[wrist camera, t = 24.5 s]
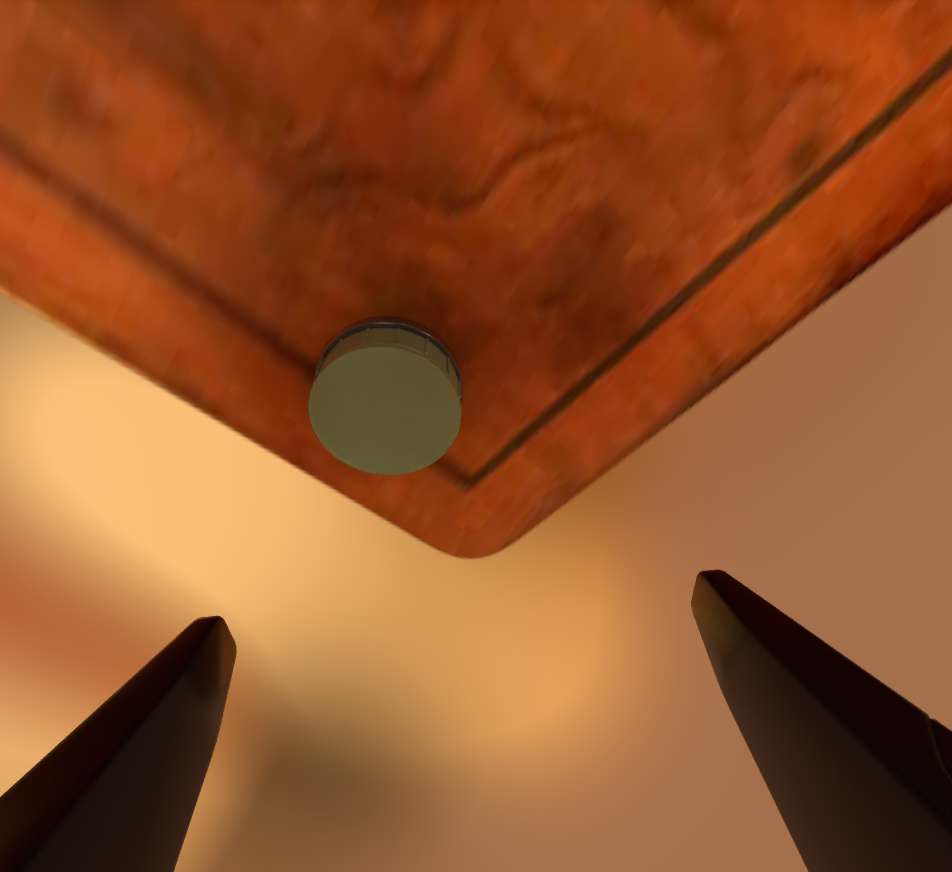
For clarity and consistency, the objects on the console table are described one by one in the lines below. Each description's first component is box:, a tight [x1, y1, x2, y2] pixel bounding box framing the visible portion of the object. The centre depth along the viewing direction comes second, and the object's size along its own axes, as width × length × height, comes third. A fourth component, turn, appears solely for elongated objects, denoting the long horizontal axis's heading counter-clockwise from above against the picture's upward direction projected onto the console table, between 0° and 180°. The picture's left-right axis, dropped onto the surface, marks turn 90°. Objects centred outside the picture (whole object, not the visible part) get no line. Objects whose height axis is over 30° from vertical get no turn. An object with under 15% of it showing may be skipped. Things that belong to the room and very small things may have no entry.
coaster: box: [314, 317, 463, 407], centre depth 21 cm, size 6×6×1 cm
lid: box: [308, 328, 462, 475], centre depth 20 cm, size 6×6×2 cm
